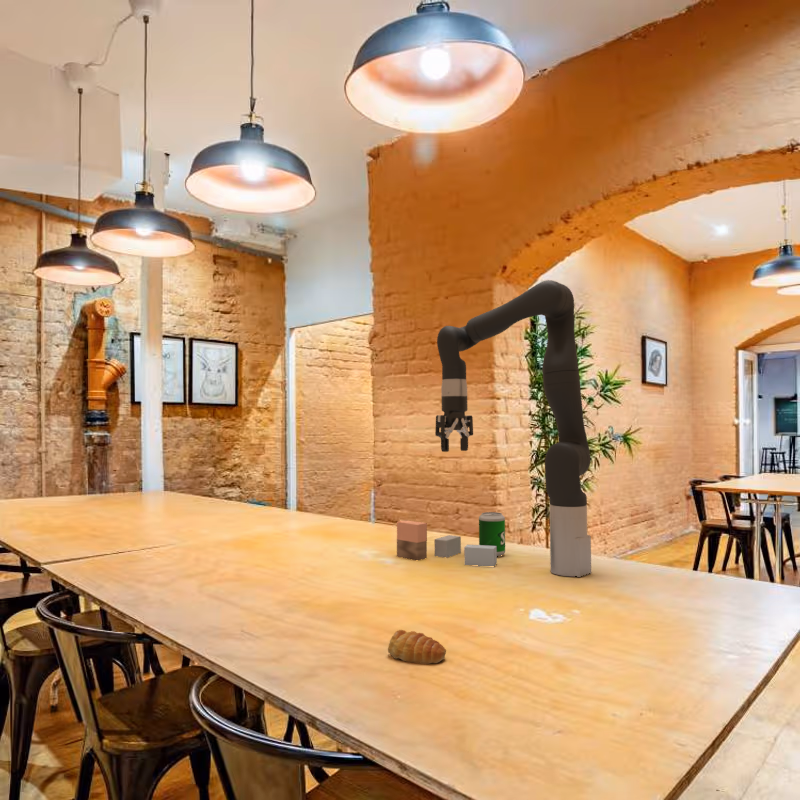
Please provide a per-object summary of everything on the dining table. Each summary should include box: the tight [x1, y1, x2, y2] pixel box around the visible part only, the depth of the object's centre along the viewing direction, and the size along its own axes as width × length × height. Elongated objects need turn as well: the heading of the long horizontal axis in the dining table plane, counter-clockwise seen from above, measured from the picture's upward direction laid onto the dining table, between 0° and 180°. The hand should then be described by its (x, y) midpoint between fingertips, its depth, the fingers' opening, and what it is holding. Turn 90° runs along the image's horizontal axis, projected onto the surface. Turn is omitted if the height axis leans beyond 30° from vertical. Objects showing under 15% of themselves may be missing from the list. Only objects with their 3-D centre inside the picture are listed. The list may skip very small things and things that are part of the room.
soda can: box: [478, 511, 506, 557], centre depth 183 cm, size 8×8×12 cm
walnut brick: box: [396, 538, 428, 561], centre depth 180 cm, size 8×4×5 cm, turn 45°
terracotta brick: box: [396, 519, 428, 543], centre depth 180 cm, size 8×4×5 cm, turn 46°
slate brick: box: [434, 534, 462, 559], centre depth 184 cm, size 8×4×5 cm, turn 144°
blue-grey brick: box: [464, 544, 498, 567], centre depth 170 cm, size 8×4×5 cm, turn 72°
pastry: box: [387, 629, 447, 665], centre depth 104 cm, size 9×7×4 cm
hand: (454, 451), depth 183 cm, fingers open, 8 cm apart
